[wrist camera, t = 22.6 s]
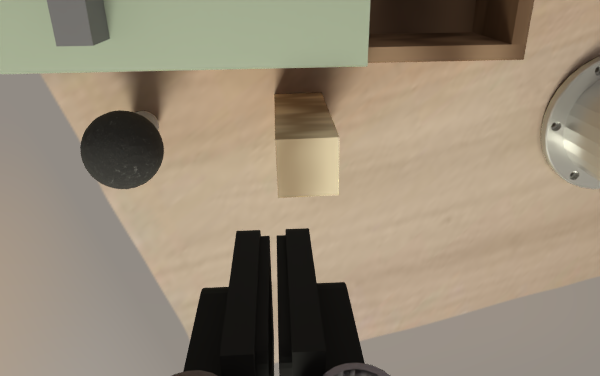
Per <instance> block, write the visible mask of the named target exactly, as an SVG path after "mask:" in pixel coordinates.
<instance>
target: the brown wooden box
mask: <svg viewBox="0 0 600 376" xmlns="http://www.w3.org/2000/svg"><path fill="white" fill-rule="evenodd" d="M533 3H534V0H370V22H369V43H368V63H381V62H428V61H476V60H523V59H524V54H525V48H526V43H527V37H528V32H529V26H530V20H531V15H532V9H533Z"/></svg>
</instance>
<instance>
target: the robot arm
mask: <svg viewBox="0 0 600 376" xmlns="http://www.w3.org/2000/svg"><path fill="white" fill-rule="evenodd" d="M541 145H542V151H543V154H544V156H545V159H546V161H547V163H548V164H549V166H550V167H551V169H552V170H553V171H554V172H555V173H557V174H558V175H559V176H560V177H561V178H563V179H564V180H566V181H567V182H569V183H570V184H573V185H576V186H578V187H581V188H587V189H600V56H599V57H597V58H594V59H593V60H591V61H589V62H588V63H586V64H584V65H583V66H581V67H580V68H579V69H577V70H576V71H575V72H574V73H573V74H571V75H570V76H569V77H568V78H567V79H566V80H565V82H564V83H563V84H562V85H561V86H560V87H559V88H558V90H557V91H556V93H555V94H554V96H553V98H552V99H551V101H550V103H549V105H548V107H547V110H546V112H545V114H544V118H543V122H542V126H541ZM277 280H278V339H279V373H280V376H390V375H389V374H387V373H386V372H385V371H383V370H381V369H379V368H377V367H375V366H373V365H369V364H365V363H364V359H363V355H362V350H361V346H360V342H359V338H358V333H357V329H356V325H355V321H354V316H353V312H352V308H351V304H350V299H349V295H348V291H347V287H346V284H345V283H344V282H339V283H316V276H315V269H314V262H313V255H312V248H311V241H310V234H309V229H286V235H283V236H277ZM172 376H274V329H273V306H272V283H271V260H270V238H269V236H261V234H260V230H252V231H237V232H236V239H235V246H234V253H233V261H232V268H231V275H230V283H229V287H216V288H203V289H202V291H201V294H200V299H199V303H198V308H197V312H196V317H195V322H194V326H193V331H192V335H191V340H190V344H189V349H188V353H187V358H186V362H185V367H184V371H183V372H181V373H178V374H174V375H172Z"/></svg>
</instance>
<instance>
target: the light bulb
mask: <svg viewBox="0 0 600 376" xmlns="http://www.w3.org/2000/svg"><path fill="white" fill-rule="evenodd" d="M158 128H159V123H158V120H157V119H156V117H155V116H154V115H153V114H151V113H150V112H147V111H138V112H136V113H134V112H129V111H113V112H109V113H107V114H104V115H102V116H100V117H98V118H96V119H95V120H94V121H93V122H92V123H91V124H90V125H89V126H88V128H87V129H86V130H85V132H84V135H83V137H82V141H81V147H80V148H81V157H82V161H83V163H84V165H85V168H86V169H87V171H88V172H89V173H90V174H91V176H92V177H93V178H94V179H96V180H97V181H98V182H100V183H101V184H104V185H106V186H109V187H112V188H116V189H130V188H134V187H138V186H140V185H142V184H144V183H146V182H147V181H149V180H150V179H151V178H152V177H153V176H154V175H155V174H156V172H157V171H158V169H159V168H160V166H161V163H162V159H163V154H164V147H163V142H162V138H161V136H160V134H159V132H158Z"/></svg>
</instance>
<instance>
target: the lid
mask: <svg viewBox="0 0 600 376" xmlns="http://www.w3.org/2000/svg"><path fill="white" fill-rule="evenodd" d="M369 22H370V0H0V74H35V73H82V72H129V71H175V70H222V69H269V68H316V67H363V66H367V65H368V43H369Z"/></svg>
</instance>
